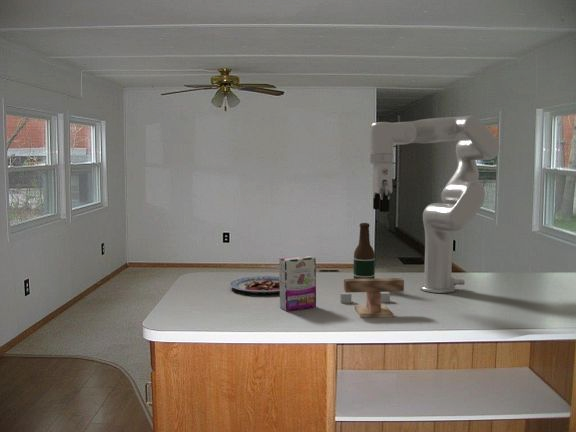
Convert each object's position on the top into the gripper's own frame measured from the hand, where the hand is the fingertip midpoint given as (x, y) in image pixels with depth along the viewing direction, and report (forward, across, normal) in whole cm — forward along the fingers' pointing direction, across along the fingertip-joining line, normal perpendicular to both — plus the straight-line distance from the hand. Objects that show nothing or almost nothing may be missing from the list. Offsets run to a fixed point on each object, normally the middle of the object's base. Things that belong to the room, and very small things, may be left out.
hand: (380, 210), depth 195 cm
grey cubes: (+30, -4, +6) cm, 31 cm away
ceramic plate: (+31, +19, +39) cm, 53 cm away
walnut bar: (+23, -18, +6) cm, 30 cm away
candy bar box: (+31, -10, +29) cm, 43 cm away
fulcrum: (+30, -18, +6) cm, 36 cm away
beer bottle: (+31, +18, +2) cm, 35 cm away
